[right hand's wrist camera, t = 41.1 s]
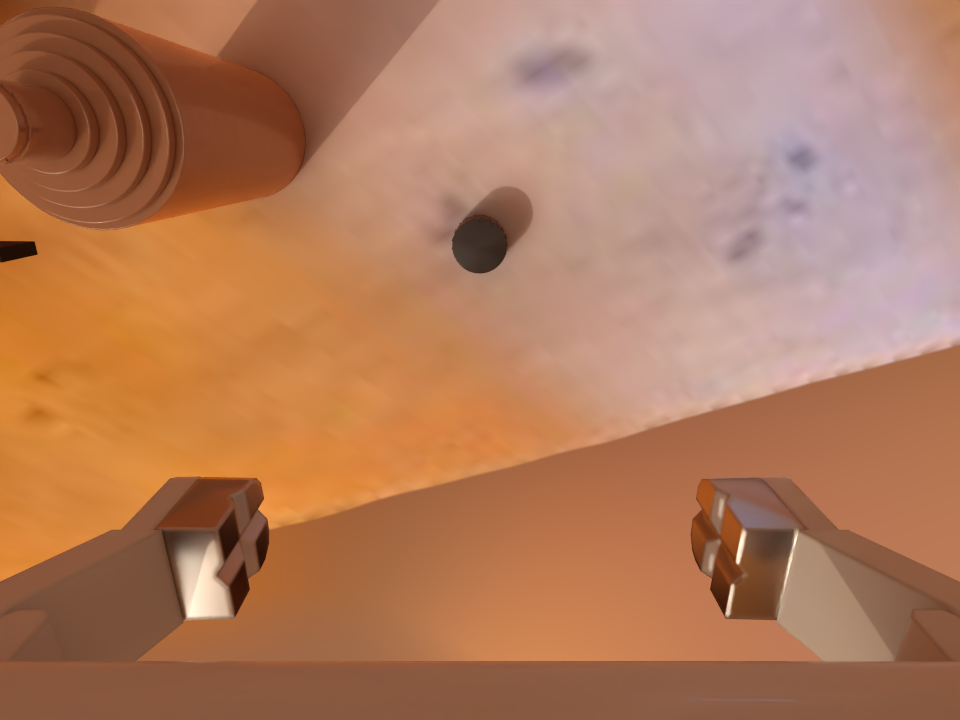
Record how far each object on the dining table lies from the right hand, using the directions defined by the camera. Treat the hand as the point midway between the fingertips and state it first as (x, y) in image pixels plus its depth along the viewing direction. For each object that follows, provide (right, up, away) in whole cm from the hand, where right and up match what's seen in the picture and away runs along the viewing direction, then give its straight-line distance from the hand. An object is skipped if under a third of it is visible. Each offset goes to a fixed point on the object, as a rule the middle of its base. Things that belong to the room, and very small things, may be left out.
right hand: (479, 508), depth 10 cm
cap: (0, +11, +29) cm, 31 cm away
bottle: (-16, +18, +28) cm, 37 cm away
